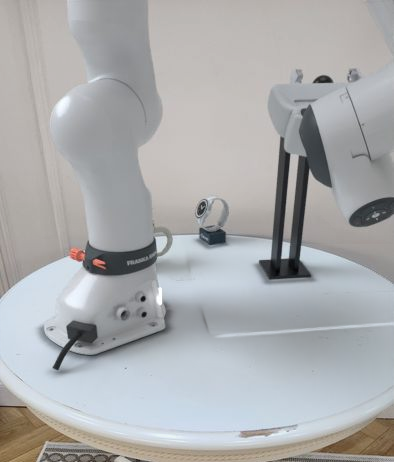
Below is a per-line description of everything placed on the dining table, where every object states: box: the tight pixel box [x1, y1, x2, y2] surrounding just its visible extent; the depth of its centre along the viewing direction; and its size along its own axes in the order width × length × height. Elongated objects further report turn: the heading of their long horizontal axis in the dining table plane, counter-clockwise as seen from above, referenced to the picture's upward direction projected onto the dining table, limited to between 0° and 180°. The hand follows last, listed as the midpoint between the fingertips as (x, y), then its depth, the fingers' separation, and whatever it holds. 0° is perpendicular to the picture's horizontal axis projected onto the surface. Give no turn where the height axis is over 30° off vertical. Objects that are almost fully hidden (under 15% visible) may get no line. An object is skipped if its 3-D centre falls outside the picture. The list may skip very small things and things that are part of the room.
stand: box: [258, 135, 312, 281], centre depth 106 cm, size 9×9×30 cm
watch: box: [194, 195, 230, 246], centre depth 126 cm, size 6×8×11 cm
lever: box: [312, 74, 335, 83], centre depth 92 cm, size 17×4×4 cm
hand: (323, 72), depth 84 cm, fingers open, 8 cm apart
